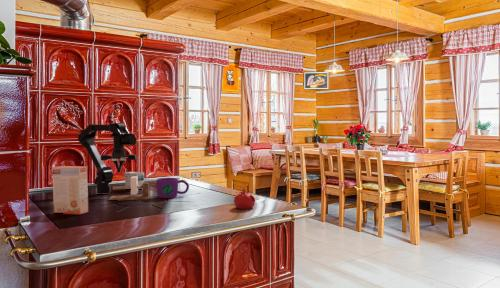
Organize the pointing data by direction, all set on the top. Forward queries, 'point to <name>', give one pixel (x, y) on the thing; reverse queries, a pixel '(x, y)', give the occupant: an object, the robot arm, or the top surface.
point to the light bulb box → (130, 174)
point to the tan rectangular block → (134, 185)
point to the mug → (169, 187)
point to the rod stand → (132, 197)
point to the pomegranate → (244, 200)
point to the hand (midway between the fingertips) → (119, 172)
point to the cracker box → (70, 189)
